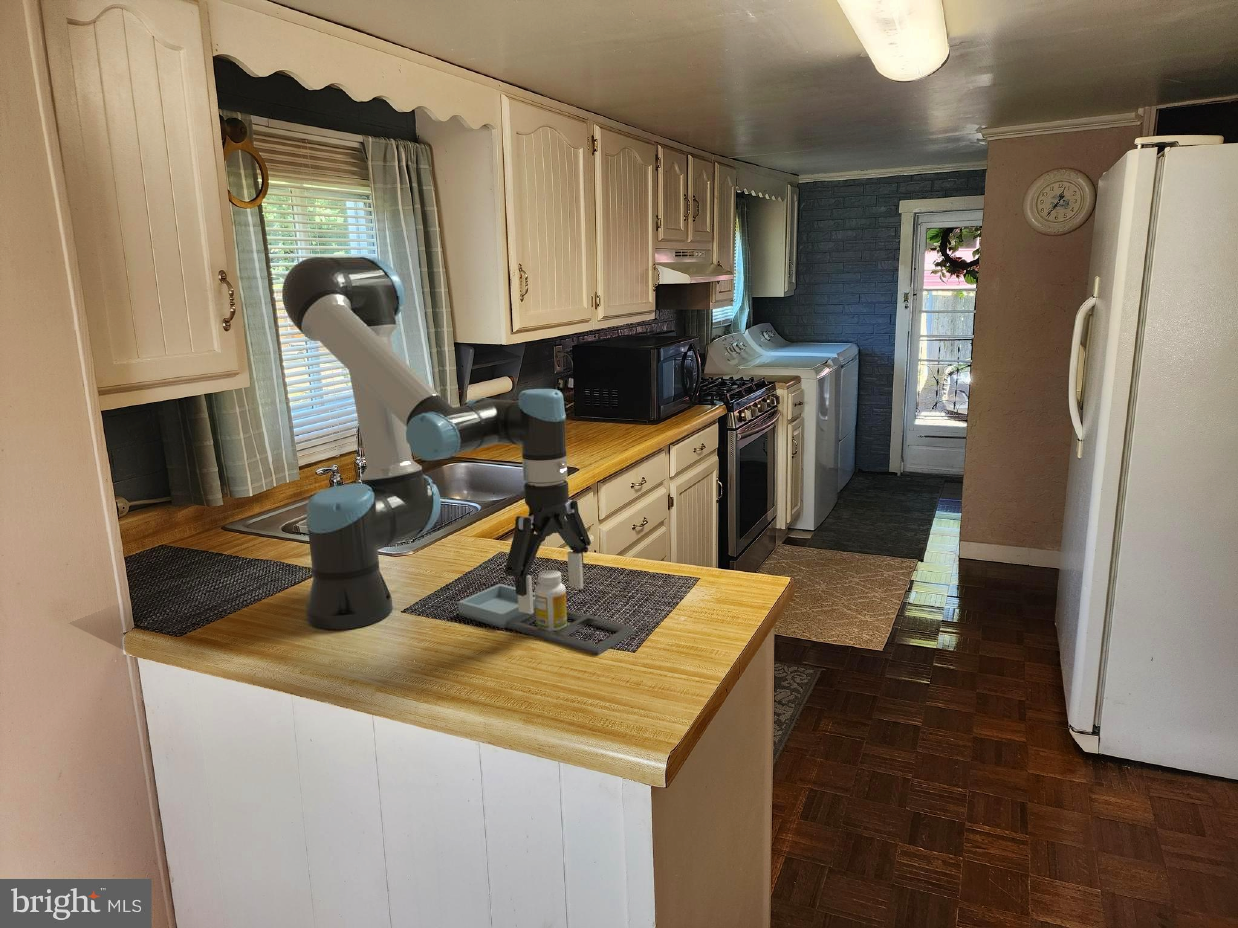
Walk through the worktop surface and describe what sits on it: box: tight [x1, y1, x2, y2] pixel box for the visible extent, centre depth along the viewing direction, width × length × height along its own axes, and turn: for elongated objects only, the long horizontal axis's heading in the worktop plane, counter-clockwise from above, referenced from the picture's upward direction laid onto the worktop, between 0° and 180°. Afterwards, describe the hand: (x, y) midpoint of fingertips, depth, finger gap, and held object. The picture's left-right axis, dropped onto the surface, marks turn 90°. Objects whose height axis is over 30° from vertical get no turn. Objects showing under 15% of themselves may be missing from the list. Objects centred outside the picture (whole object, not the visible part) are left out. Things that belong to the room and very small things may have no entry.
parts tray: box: [457, 583, 536, 629], centre depth 156 cm, size 11×11×3 cm
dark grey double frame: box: [506, 608, 634, 655], centre depth 147 cm, size 10×20×1 cm, turn 55°
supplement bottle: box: [534, 569, 568, 632], centre depth 148 cm, size 5×5×10 cm
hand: (552, 599), depth 148 cm, fingers open, 13 cm apart
